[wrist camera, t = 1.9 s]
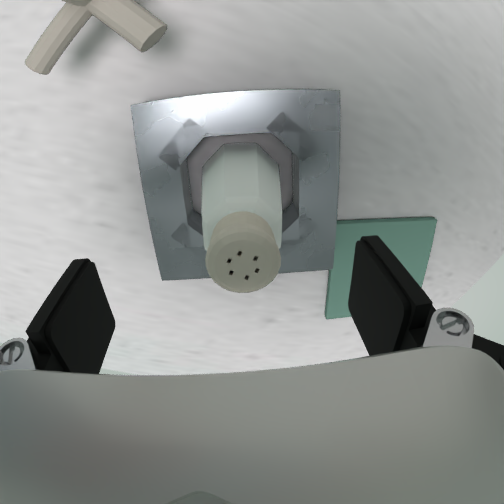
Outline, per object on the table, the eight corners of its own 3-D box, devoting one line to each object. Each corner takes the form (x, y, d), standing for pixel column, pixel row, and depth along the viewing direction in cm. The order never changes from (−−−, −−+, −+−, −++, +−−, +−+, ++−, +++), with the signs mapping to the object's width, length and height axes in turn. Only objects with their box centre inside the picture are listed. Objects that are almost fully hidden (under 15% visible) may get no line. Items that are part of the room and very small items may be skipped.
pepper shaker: (190, 201, 22) (155, 298, 12) (217, 128, 19) (195, 171, 10) (262, 226, 23) (279, 334, 13) (293, 158, 21) (342, 227, 11)
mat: (433, 216, 23) (437, 220, 23) (413, 303, 28) (415, 307, 27) (332, 221, 23) (335, 224, 22) (324, 314, 27) (326, 319, 27)
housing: (327, 89, 18) (339, 90, 16) (324, 251, 24) (333, 269, 22) (143, 102, 18) (130, 105, 16) (168, 261, 24) (162, 280, 22)
